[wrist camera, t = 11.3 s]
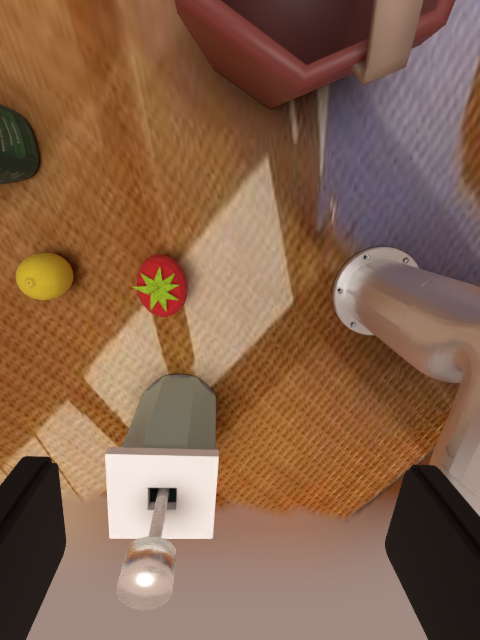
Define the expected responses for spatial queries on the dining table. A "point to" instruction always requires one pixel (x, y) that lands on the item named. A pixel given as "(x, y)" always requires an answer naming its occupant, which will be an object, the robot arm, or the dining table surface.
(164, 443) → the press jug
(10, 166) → the coffee jar
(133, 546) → the plunger
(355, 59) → the bucket
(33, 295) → the lemon
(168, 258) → the strawberry
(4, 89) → the dining table surface
